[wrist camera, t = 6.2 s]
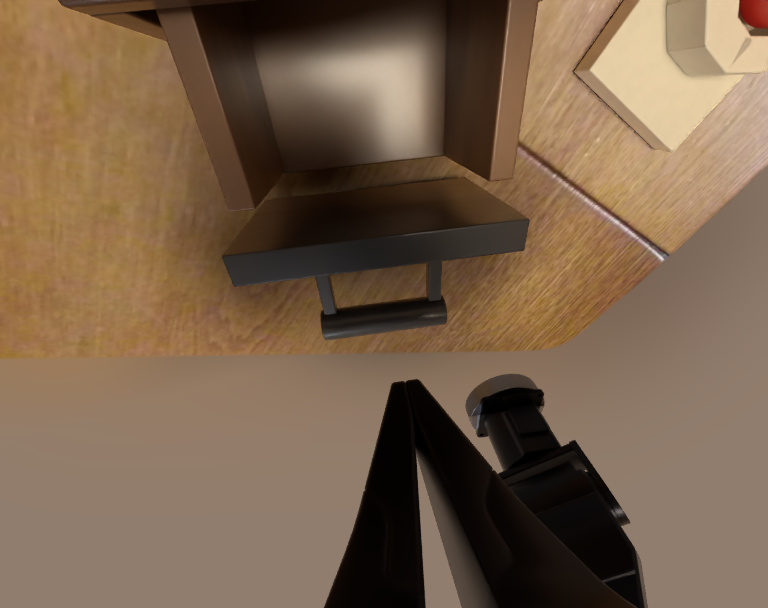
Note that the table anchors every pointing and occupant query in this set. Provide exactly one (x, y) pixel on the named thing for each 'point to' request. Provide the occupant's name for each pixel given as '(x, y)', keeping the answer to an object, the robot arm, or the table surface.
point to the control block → (672, 63)
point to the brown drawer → (359, 134)
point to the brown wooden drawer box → (135, 12)
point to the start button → (754, 12)
